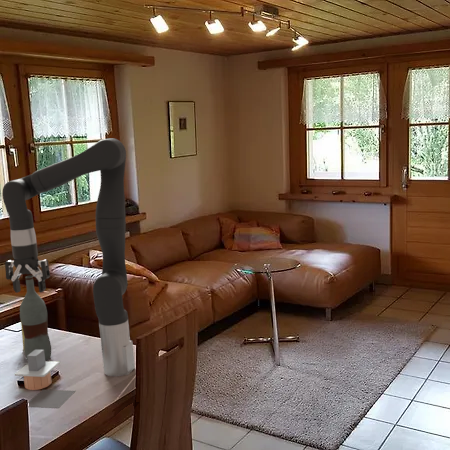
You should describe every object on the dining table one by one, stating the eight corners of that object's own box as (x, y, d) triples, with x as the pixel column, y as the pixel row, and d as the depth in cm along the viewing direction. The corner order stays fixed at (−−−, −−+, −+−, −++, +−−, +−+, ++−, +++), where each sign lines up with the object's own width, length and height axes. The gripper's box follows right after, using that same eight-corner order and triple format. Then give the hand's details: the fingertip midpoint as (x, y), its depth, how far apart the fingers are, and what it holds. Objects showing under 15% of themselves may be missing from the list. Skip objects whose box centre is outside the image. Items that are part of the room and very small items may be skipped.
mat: (76, 392, 179) (75, 390, 179) (58, 409, 168) (58, 408, 168) (43, 390, 181) (42, 389, 181) (23, 407, 170) (23, 406, 170)
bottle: (51, 362, 203) (41, 278, 198) (23, 366, 201) (13, 281, 196) (53, 352, 212) (44, 271, 207) (27, 355, 210) (16, 274, 205)
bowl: (56, 380, 188) (54, 365, 187) (43, 391, 180) (41, 376, 180) (33, 379, 190) (31, 364, 189) (20, 390, 182) (18, 375, 181)
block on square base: (59, 363, 189) (57, 346, 188) (44, 376, 179) (42, 359, 178) (31, 362, 191) (29, 346, 190) (14, 375, 181) (12, 358, 180)
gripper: (50, 239, 188) (55, 288, 191) (10, 240, 191) (16, 288, 194) (38, 244, 181) (44, 295, 184) (-3, 245, 184) (3, 295, 187)
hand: (29, 291), depth 189 cm, fingers open, 8 cm apart
